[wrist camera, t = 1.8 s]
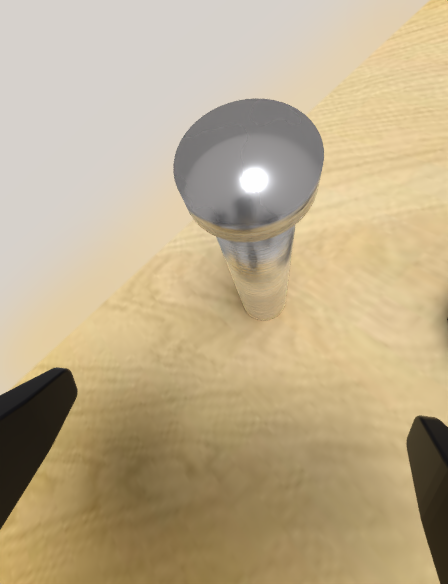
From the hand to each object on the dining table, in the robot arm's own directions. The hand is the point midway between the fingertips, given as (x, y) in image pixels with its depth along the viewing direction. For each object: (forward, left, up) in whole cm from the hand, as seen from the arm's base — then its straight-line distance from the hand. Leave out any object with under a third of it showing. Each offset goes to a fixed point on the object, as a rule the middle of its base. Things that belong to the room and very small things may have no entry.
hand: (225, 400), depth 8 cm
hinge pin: (+5, +3, -12) cm, 14 cm away
